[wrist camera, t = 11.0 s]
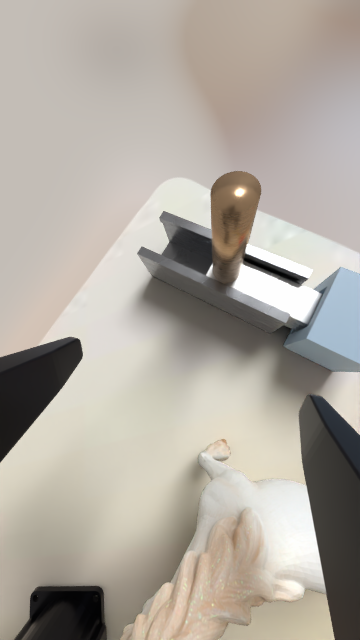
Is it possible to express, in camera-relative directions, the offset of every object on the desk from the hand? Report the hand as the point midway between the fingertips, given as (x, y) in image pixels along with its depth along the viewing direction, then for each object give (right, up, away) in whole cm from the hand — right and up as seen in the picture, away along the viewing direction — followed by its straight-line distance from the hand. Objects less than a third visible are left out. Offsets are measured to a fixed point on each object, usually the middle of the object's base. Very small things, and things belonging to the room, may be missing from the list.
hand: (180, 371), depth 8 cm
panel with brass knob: (+8, +4, +12) cm, 15 cm away
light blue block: (+13, +1, +12) cm, 18 cm away
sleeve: (+4, +6, +14) cm, 16 cm away
